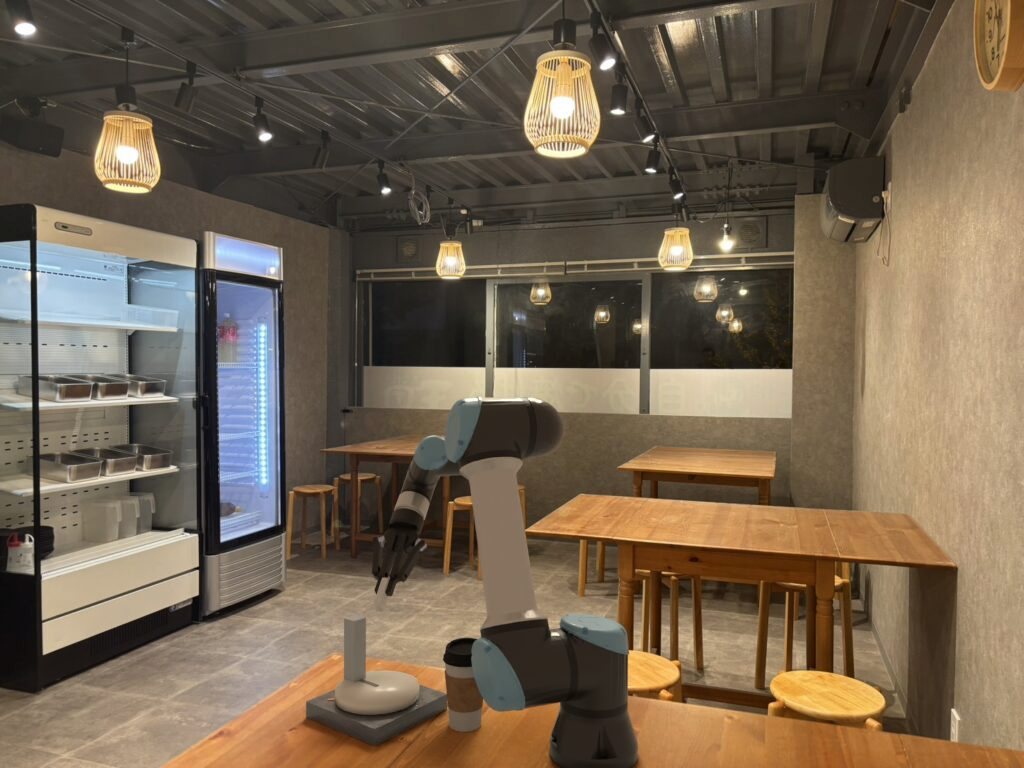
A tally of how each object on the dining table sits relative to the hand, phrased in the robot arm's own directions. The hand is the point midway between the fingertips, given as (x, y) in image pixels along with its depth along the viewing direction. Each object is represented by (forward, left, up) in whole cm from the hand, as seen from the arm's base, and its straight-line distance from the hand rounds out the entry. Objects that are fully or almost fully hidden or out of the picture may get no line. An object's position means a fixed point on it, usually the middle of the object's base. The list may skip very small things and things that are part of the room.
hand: (378, 608), depth 161 cm
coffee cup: (-27, +3, -16) cm, 32 cm away
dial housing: (-11, +10, -16) cm, 22 cm away
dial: (-11, +10, -13) cm, 19 cm away
